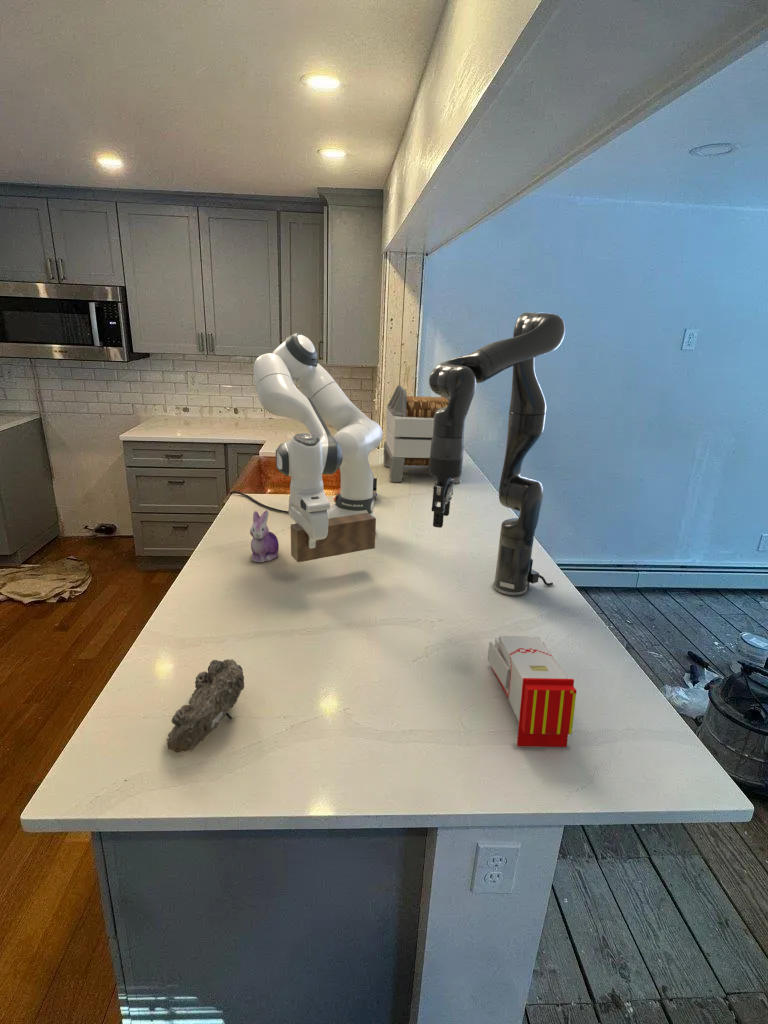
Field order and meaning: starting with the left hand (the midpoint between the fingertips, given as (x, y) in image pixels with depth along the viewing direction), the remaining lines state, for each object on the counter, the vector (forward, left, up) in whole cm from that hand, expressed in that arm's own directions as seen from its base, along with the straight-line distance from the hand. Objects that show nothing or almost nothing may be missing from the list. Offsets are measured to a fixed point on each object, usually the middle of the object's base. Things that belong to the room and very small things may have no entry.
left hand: (307, 543), depth 156 cm
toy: (+61, -32, -13) cm, 70 cm away
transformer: (+4, +127, -13) cm, 128 cm away
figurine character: (-7, +79, -13) cm, 81 cm away
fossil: (+5, -57, -13) cm, 58 cm away
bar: (+6, +6, -4) cm, 9 cm away
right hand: (+38, -8, +15) cm, 41 cm away
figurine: (-20, +12, -13) cm, 26 cm away
